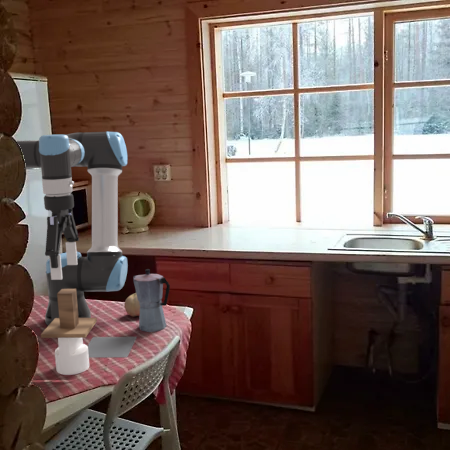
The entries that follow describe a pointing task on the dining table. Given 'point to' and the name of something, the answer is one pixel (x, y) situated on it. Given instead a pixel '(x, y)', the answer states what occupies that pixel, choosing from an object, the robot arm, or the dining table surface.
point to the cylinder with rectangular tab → (71, 356)
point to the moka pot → (151, 301)
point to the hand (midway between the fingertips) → (65, 271)
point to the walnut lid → (68, 318)
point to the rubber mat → (110, 346)
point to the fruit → (132, 305)
